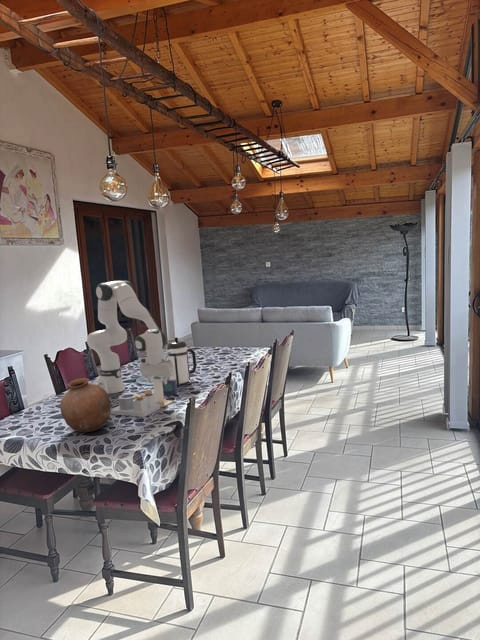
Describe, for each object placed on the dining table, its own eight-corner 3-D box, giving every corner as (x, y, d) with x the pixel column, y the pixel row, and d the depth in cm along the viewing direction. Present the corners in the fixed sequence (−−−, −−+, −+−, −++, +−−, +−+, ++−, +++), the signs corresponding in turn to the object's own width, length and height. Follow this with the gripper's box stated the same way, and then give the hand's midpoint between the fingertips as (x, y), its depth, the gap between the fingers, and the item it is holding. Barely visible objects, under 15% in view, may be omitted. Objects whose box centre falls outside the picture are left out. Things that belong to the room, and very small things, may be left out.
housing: (110, 413, 252) (108, 399, 251) (127, 405, 264) (125, 391, 263) (144, 417, 242) (143, 401, 241) (160, 408, 255) (158, 393, 254)
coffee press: (189, 387, 292) (185, 339, 288) (165, 387, 296) (160, 340, 291) (197, 379, 309) (193, 334, 305) (174, 379, 312) (170, 335, 308)
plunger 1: (134, 409, 246) (133, 396, 245) (139, 406, 249) (138, 394, 249) (141, 410, 244) (140, 397, 243) (146, 407, 248) (145, 394, 247)
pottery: (117, 419, 242) (112, 371, 238) (106, 436, 219) (100, 384, 215) (72, 423, 241) (66, 375, 238) (56, 440, 218) (49, 388, 215)
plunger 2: (143, 405, 252) (142, 392, 251) (148, 402, 256) (147, 390, 255) (150, 405, 250) (148, 393, 250) (155, 403, 254) (153, 390, 253)
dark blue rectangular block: (178, 393, 279) (176, 376, 278) (176, 395, 277) (174, 377, 275) (163, 394, 282) (161, 376, 280) (161, 395, 279) (159, 377, 277)
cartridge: (153, 404, 261) (150, 377, 259) (160, 401, 265) (157, 375, 263) (159, 405, 258) (156, 378, 256) (166, 402, 262) (163, 376, 260)
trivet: (147, 406, 259) (147, 405, 259) (158, 400, 268) (158, 399, 268) (162, 407, 255) (162, 406, 255) (173, 401, 264) (172, 400, 264)
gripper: (175, 358, 257) (177, 383, 259) (144, 356, 265) (146, 380, 268) (168, 361, 251) (170, 386, 253) (137, 359, 260) (139, 383, 262)
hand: (158, 383), depth 260 cm, fingers open, 8 cm apart
